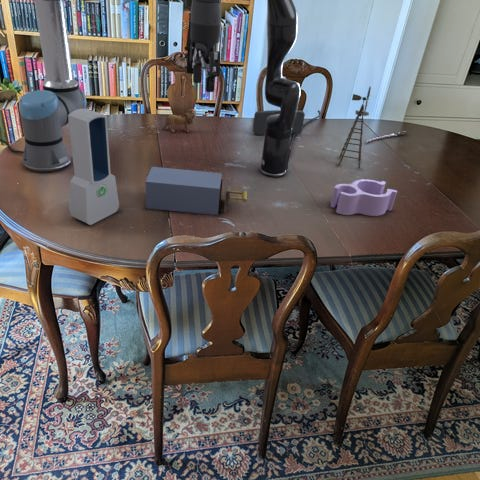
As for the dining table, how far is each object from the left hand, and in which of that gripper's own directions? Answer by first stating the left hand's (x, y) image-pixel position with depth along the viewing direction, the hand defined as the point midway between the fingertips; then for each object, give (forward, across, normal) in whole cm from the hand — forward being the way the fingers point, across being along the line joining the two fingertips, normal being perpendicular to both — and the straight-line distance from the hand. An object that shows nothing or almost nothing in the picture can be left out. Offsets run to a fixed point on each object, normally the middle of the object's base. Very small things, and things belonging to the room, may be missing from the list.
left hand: (195, 68), depth 145 cm
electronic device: (+36, -36, +22) cm, 55 cm away
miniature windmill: (+35, +26, -59) cm, 73 cm away
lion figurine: (+36, +40, +12) cm, 55 cm away
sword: (+35, +62, -80) cm, 107 cm away
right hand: (-1, -24, -6) cm, 25 cm away
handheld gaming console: (+36, +50, -29) cm, 68 cm away
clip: (+35, -11, -58) cm, 69 cm away
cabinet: (+36, -23, -2) cm, 42 cm away
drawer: (+35, -22, -8) cm, 42 cm away
